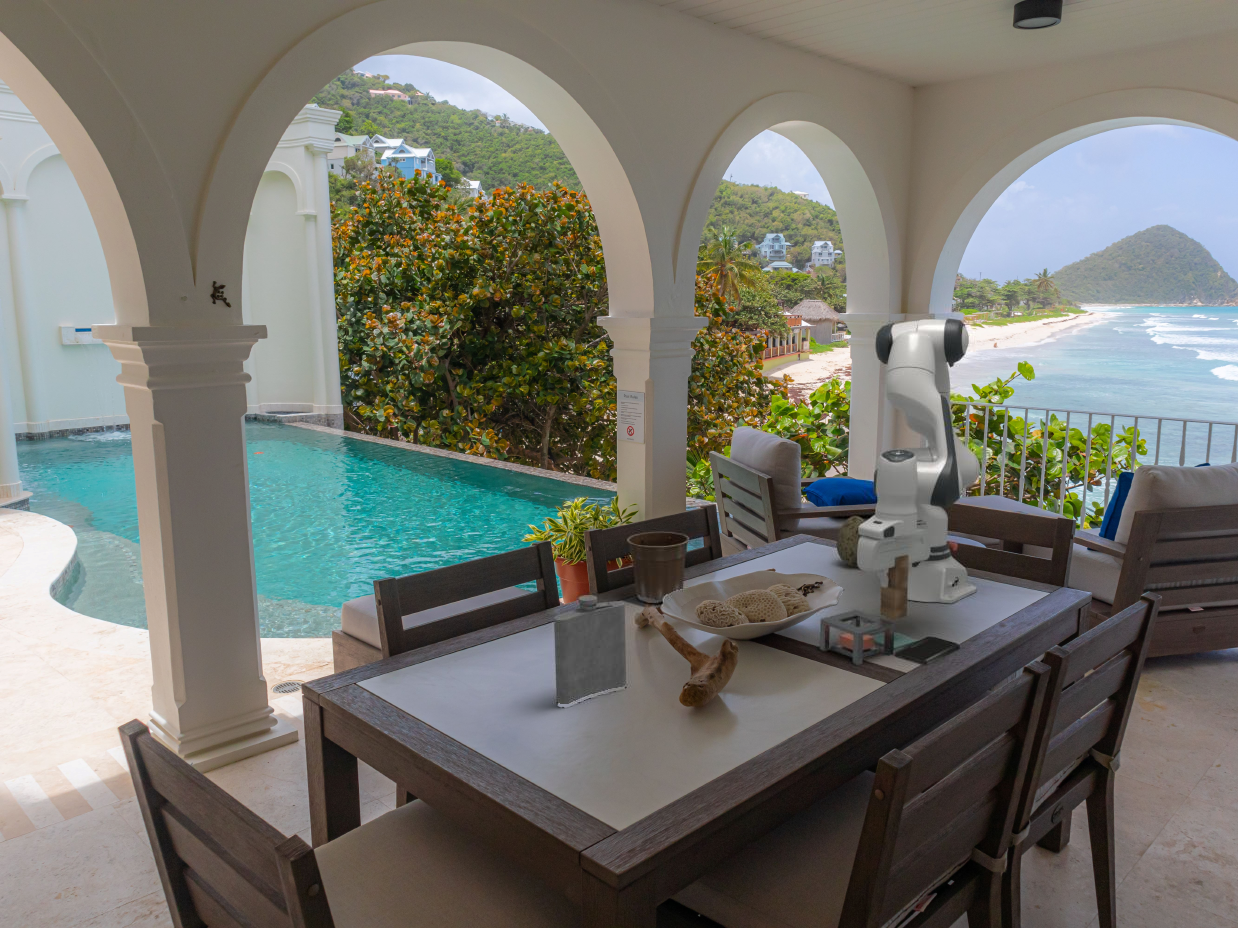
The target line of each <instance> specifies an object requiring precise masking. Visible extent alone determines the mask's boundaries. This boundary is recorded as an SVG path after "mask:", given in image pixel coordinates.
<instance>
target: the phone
mask: <svg viewBox="0 0 1238 928" xmlns="http://www.w3.org/2000/svg"><path fill="white" fill-rule="evenodd" d="M918 640H919V639H918ZM960 647H961V645H960V643H957V642H954V641H950V640H947V639H943V638H940V637H936V636H932V635H931V636H930V635H929V636H925V637H923V638H921V639H920V640H919V641H917V642H915V643H913V644H910V645H908V646H906V647H902V648H899V649H896V650H894V657H896V658H898V659H901V660H905V661H909V662H912V663H915V664H919V665H922V666H928V665H930V664H932V663H935V662H936V661H938V660H940V659H942V658H945V657H946V656H948V655H950V654H952V653H955V652H956V651H958V650H960Z"/></svg>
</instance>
